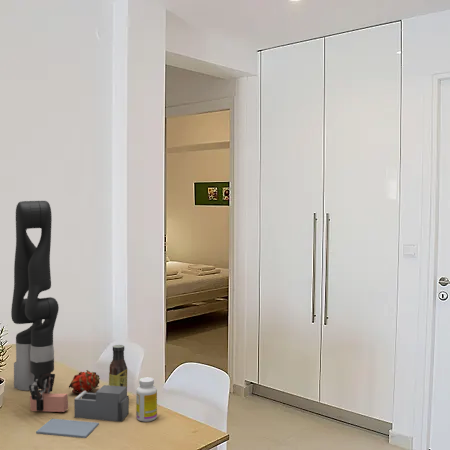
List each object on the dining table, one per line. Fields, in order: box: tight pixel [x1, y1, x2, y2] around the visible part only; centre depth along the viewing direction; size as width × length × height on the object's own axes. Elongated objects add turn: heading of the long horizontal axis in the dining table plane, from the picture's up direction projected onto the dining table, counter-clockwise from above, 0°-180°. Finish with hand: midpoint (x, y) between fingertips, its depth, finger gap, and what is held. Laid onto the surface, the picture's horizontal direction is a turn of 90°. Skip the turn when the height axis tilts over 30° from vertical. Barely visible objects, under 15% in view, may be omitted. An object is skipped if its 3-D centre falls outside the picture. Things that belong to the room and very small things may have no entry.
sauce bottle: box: [108, 344, 128, 388], centre depth 198 cm, size 6×6×20 cm
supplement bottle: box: [135, 376, 158, 423], centre depth 185 cm, size 7×7×13 cm
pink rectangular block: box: [29, 392, 69, 413], centre depth 190 cm, size 12×3×5 cm, turn 80°
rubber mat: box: [35, 418, 100, 439], centre depth 176 cm, size 16×10×1 cm, turn 80°
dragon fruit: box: [68, 369, 101, 394], centre depth 207 cm, size 8×8×12 cm
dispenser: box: [73, 384, 130, 423], centre depth 186 cm, size 16×7×9 cm, turn 80°
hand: (42, 408), depth 190 cm, fingers closed on pink rectangular block, 2 cm apart
